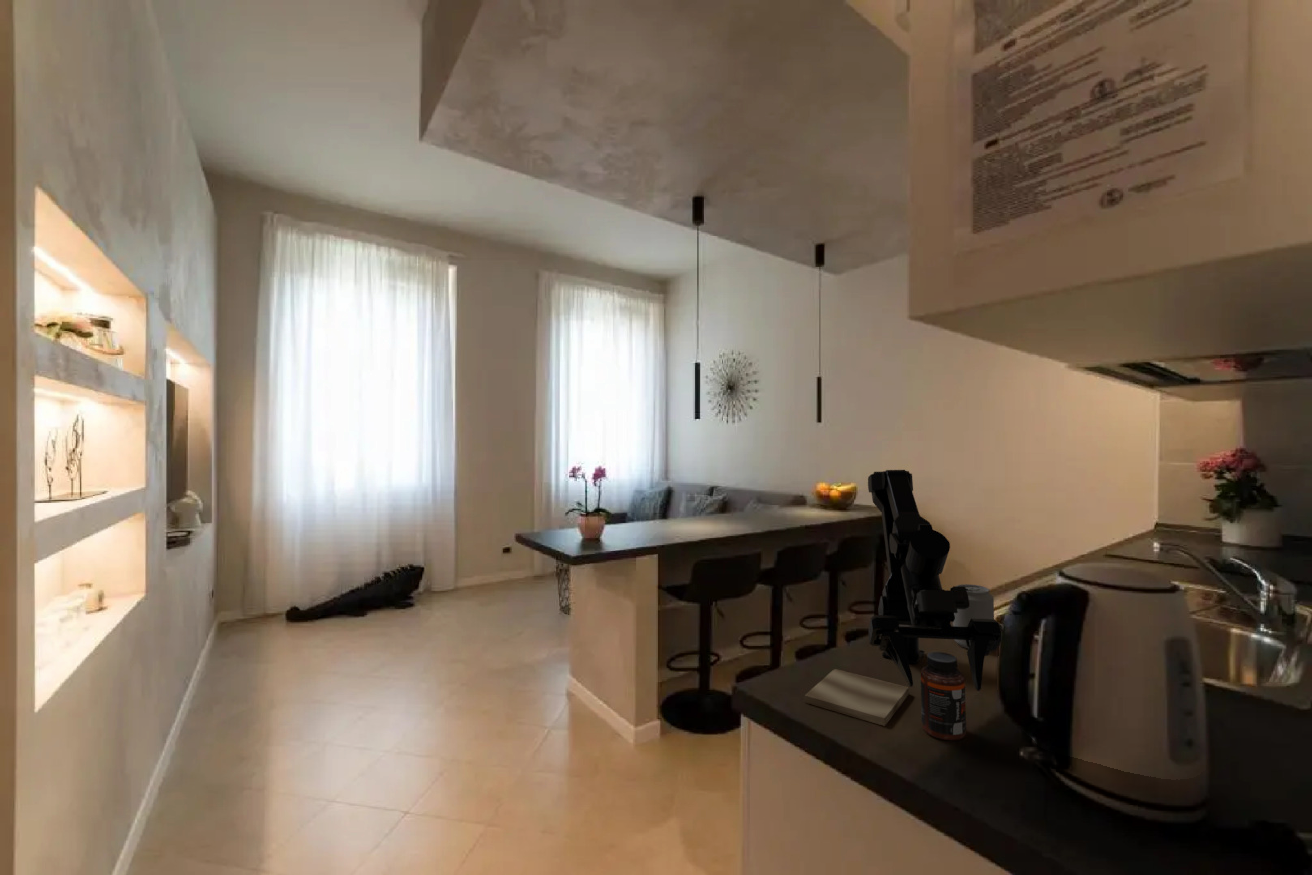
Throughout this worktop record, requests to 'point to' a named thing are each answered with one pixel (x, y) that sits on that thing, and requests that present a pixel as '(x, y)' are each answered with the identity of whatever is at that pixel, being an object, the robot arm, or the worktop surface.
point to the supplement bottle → (943, 697)
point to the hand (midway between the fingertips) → (944, 687)
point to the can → (974, 608)
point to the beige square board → (858, 696)
